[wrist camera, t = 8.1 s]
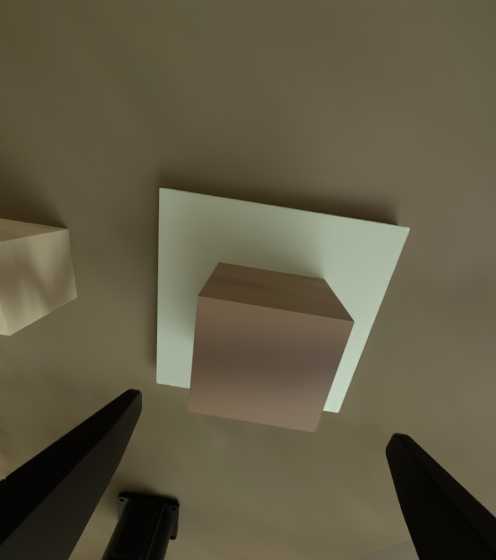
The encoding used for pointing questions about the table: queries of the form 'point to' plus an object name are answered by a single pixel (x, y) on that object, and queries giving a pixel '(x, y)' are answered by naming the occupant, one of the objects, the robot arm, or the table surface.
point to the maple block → (33, 273)
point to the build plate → (266, 267)
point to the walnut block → (266, 346)
